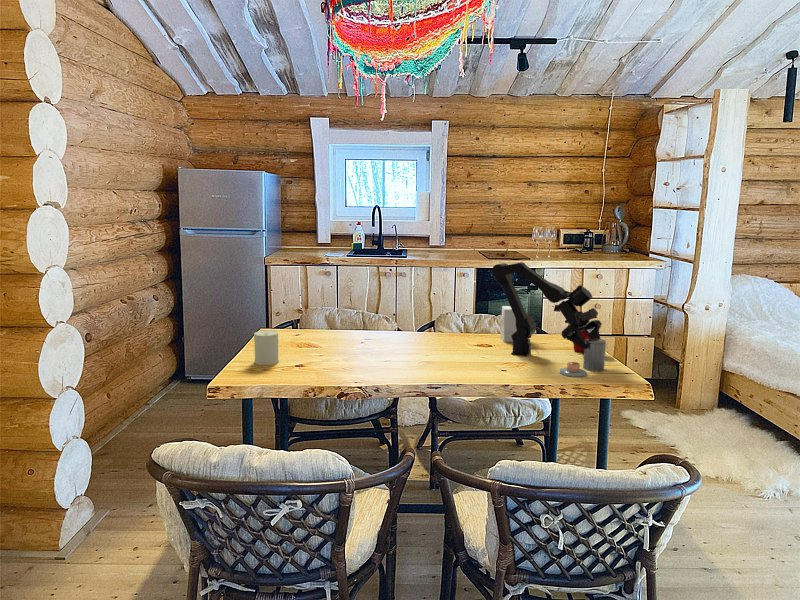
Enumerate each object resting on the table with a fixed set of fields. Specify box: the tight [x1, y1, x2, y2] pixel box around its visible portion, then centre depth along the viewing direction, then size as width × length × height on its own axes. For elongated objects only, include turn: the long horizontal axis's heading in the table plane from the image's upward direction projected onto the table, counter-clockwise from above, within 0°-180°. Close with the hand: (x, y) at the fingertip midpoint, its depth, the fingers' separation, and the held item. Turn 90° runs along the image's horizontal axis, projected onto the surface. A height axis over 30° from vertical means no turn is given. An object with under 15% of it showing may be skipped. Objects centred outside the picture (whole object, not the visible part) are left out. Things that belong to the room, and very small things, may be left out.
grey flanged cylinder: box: [582, 338, 607, 372], centre depth 242 cm, size 7×7×11 cm
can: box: [253, 330, 280, 366], centre depth 244 cm, size 9×9×12 cm
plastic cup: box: [572, 322, 590, 354], centre depth 268 cm, size 11×11×12 cm
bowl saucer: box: [559, 361, 587, 378], centre depth 236 cm, size 10×10×4 cm
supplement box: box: [500, 305, 517, 343], centre depth 287 cm, size 9×9×15 cm
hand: (593, 347), depth 242 cm, fingers open, 9 cm apart
